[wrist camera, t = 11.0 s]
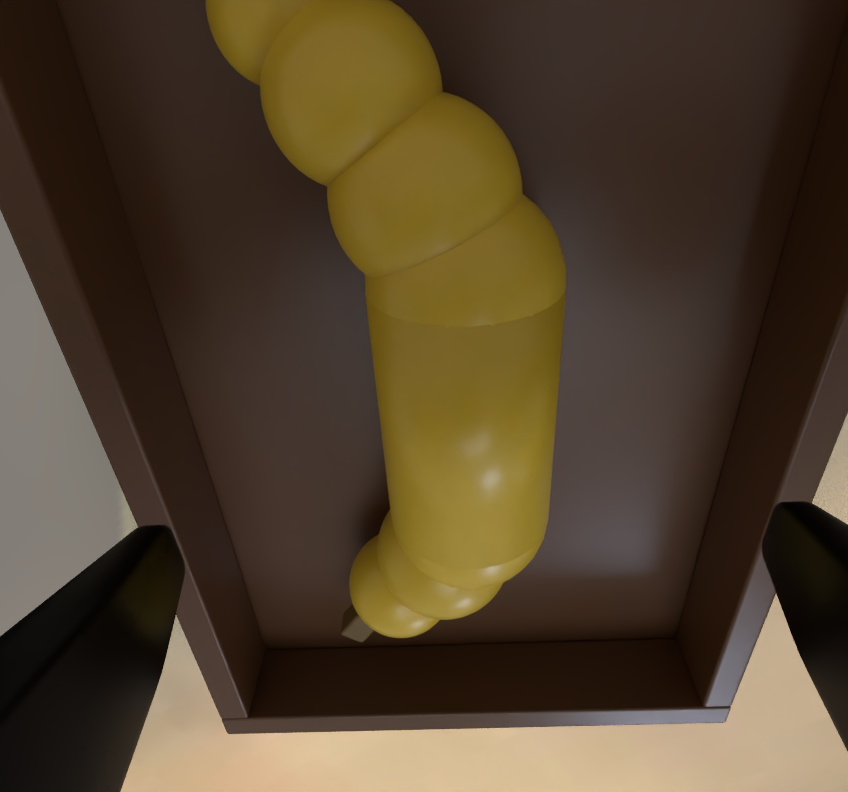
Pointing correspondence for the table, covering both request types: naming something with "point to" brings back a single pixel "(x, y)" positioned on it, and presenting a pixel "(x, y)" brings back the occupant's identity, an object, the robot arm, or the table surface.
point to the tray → (352, 354)
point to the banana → (423, 294)
